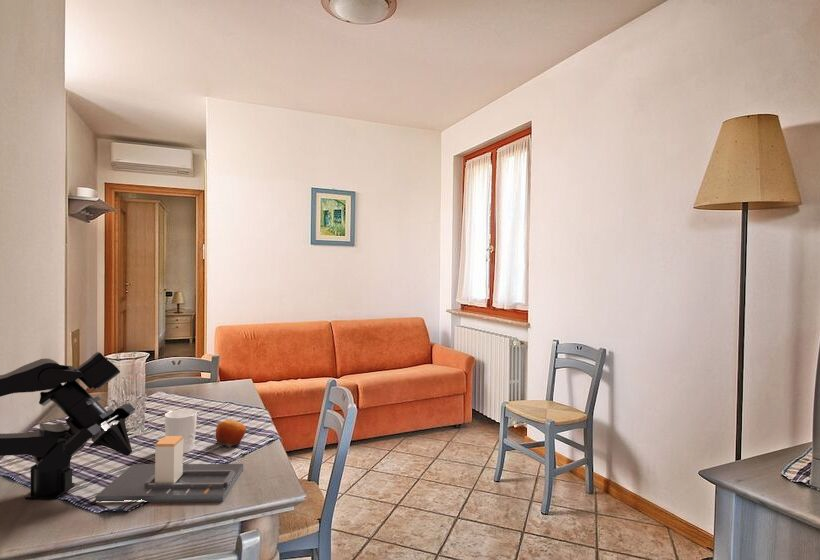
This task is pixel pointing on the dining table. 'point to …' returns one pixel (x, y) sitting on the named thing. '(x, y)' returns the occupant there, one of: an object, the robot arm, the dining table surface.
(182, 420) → the white cup
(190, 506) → the dining table surface
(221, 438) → the fruit
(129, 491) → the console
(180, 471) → the fader cap
